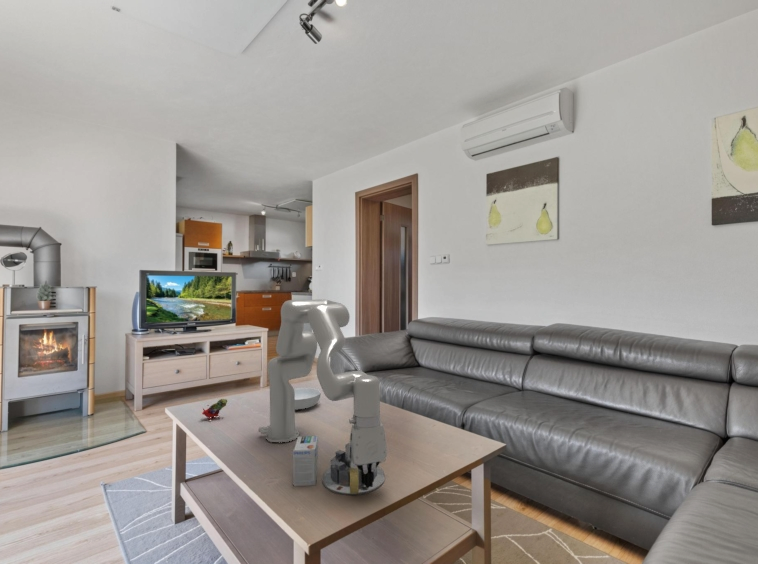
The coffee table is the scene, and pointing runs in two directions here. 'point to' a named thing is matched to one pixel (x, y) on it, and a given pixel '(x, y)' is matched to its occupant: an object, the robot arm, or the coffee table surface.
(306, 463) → the light bulb box
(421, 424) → the coffee table surface
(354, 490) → the castellated metal disc
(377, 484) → the spindle plate
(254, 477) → the coffee table surface
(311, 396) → the serving bowl
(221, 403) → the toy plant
